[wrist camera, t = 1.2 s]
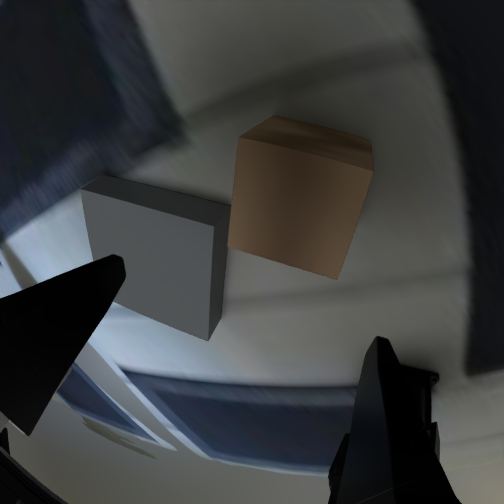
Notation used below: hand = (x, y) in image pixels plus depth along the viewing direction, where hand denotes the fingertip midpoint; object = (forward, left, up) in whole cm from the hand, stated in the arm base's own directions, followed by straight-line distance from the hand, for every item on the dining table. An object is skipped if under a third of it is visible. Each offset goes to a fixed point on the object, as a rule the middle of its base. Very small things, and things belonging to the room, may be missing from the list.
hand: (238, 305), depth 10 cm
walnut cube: (0, 0, -12) cm, 12 cm away
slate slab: (+11, +10, -12) cm, 19 cm away
